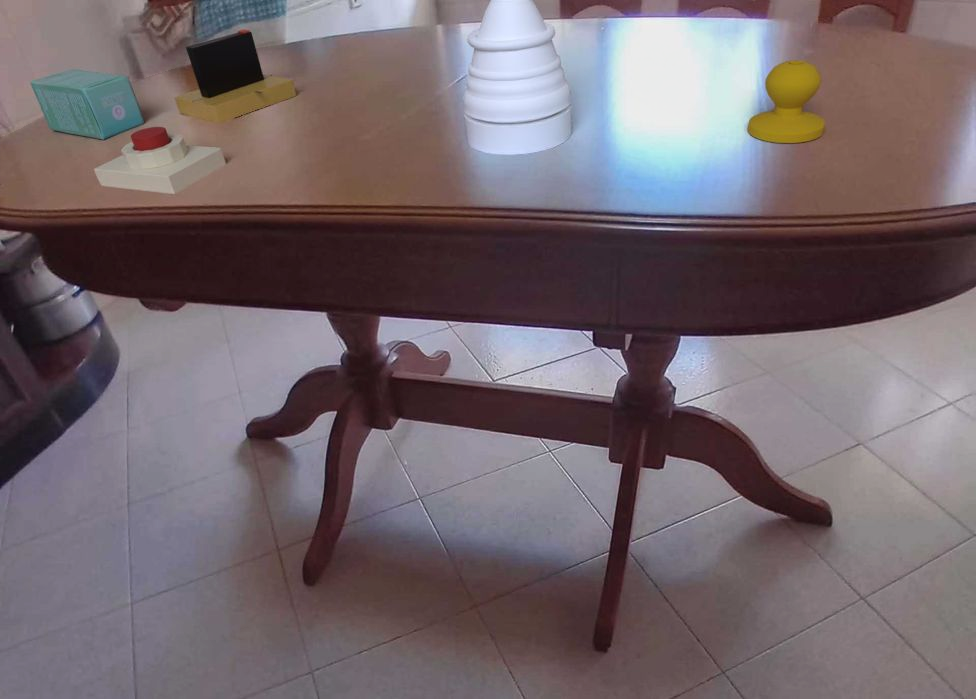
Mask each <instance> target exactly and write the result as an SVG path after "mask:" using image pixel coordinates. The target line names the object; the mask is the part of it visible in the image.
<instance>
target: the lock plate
mask: <svg viewBox="0 0 976 699" xmlns="http://www.w3.org/2000/svg"><path fill="white" fill-rule="evenodd" d="M263 77H264V80H261V81H258V82H255V83H252V84H249V85H246V86H243V87H240V88H237V89H235V90H232V91H229V92H226V93H223V94H220V95H217V96H214V97H211V98H207V97H202V95H201V92H200V89H199V88H198V89H196V90H193V91H192V90H191V91H190V92H186V93H183V94H180V95H177V96H174V97H173V98H174V101H175V104H176V107H177V109H178V112H179V115H183V116H188V117H192V118H196V119H199V120H204V121H209V122H213V123H216V124H222V123H225V122H227V121H230V119H231V120H233V119H236V118H235V117H237V118H239V117H238V116H240V117H242V116H245V115H247V114H246V113H248V114H250V113H249V112H251V113H253V112H256V111H258V110H257V109H259V110H261V108H262V109H264V108H267V107H269V105H270V106H273V105H275V104H277V103H280V102H283V101H285V100H289V99H291V98H294V97H296V96H297V92H296V89H295V85H294V81H293V79H291V78H285V77H280V76H273V74H263ZM272 104H273V105H272ZM266 106H267V107H266ZM255 110H256V111H255ZM252 111H253V112H252ZM244 114H245V115H244ZM241 115H242V116H241ZM232 118H233V119H232Z"/></svg>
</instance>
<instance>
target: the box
mask: <svg viewBox="0 0 976 699" xmlns="http://www.w3.org/2000/svg"><path fill="white" fill-rule="evenodd" d="M29 83H30V86H31V88H32V90H33V93H34V95H35V97H36V99H37V103H38V104H39V107H40V109H41V111H42V113H43V116H44V118H45V120H46V122H47V125H48V127H49V129H50V130H51V131H55V132H60V133H66V134H72V135H76V136H82V137H87V138H93V139H98V140H103V141H104V140H107V139H109V138H112V137H115V136H118V135H120V134H122V133H125V132H127V131H130V130H133V129H135V128H138V127H140V126H142V125H144V123H145V121H144V117H143V115H142V110H141V108H140V105H139V102H138V99H137V97H136V94H135V92H134V89H133V86H132V84H131V81H130V78H129V77H128V76H127V75H123V74H113V73H107V72H98V71H90V70H82V69H75V68H72V69H68V70H66V71H62V72H59V73H55V74H52V75H48V76H43V77H41V78H37V79H33V80H31V81H29Z"/></svg>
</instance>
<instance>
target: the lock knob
mask: <svg viewBox="0 0 976 699" xmlns="http://www.w3.org/2000/svg"><path fill="white" fill-rule="evenodd" d="M253 36H254V35H253V32H252V31H250V30H249V29H239V30H237V32H234V33H231V34H228V35H224V36H221V37H216V38H214V39H210V40H207V41H203V42H199V43H196V44H192V45H188V46H185V49H186V52H187V56H188V59H189V61H190V64H191V68H192V71H193V74H194V77H195V81H196V83H197V86H198V90H199V89H200V92H201V95H202V97H207V98H211V97H214V96H217V95H220V94H223V93H226V92H229V91H232V90H235V89H237V88H240V87H243V86H246V85H249V84H252V83H255V82H258V81H261V80H264V77H263V75H264V73H263V69H262V66H261V62H260V58H259V55H258V52H257V47H256V44H255V40H254V37H253Z"/></svg>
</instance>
